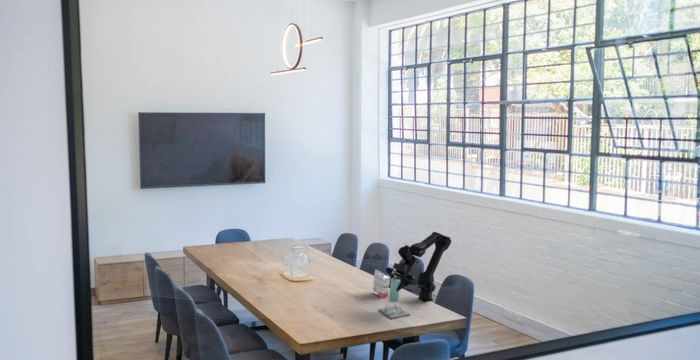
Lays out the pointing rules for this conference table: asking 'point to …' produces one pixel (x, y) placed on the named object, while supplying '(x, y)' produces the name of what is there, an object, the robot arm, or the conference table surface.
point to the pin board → (394, 312)
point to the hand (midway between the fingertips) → (393, 289)
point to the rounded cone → (394, 290)
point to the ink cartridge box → (381, 284)
